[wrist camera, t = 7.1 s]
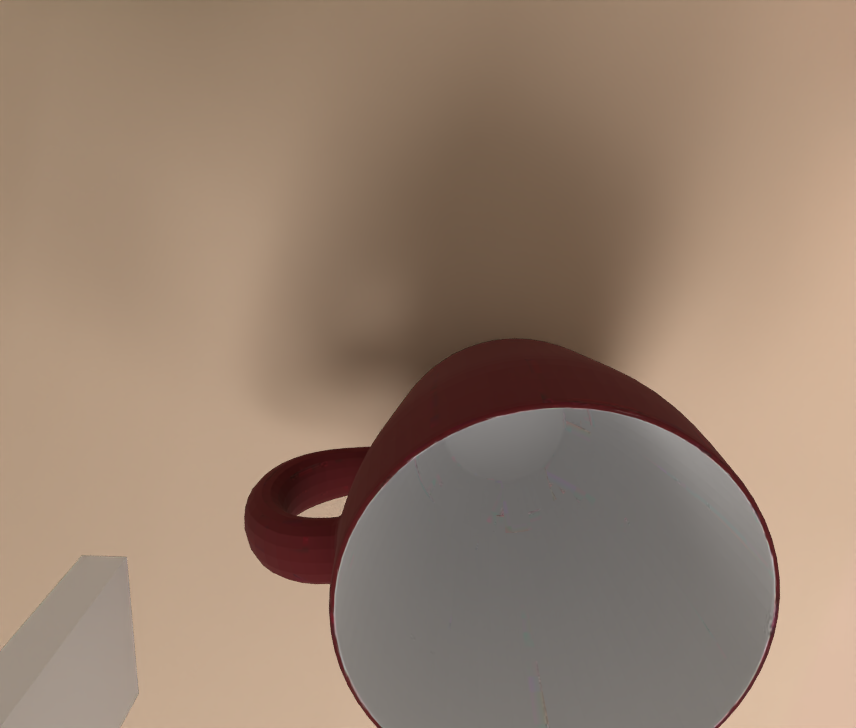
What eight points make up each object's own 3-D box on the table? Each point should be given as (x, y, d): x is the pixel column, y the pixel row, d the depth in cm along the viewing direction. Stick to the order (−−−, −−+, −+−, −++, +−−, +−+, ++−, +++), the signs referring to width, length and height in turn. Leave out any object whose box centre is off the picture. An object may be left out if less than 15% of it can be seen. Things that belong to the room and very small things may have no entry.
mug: (324, 577, 25) (259, 852, 15) (256, 337, 23) (130, 482, 13) (653, 514, 24) (802, 759, 15) (615, 261, 22) (760, 354, 12)
